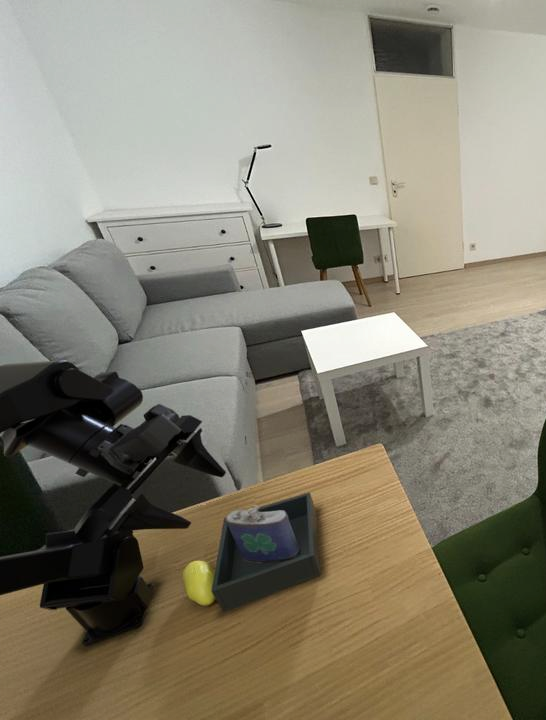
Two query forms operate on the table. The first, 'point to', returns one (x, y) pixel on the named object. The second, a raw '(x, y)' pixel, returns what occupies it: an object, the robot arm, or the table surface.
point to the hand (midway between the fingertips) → (208, 498)
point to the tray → (258, 580)
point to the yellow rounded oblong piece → (199, 582)
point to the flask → (263, 535)
